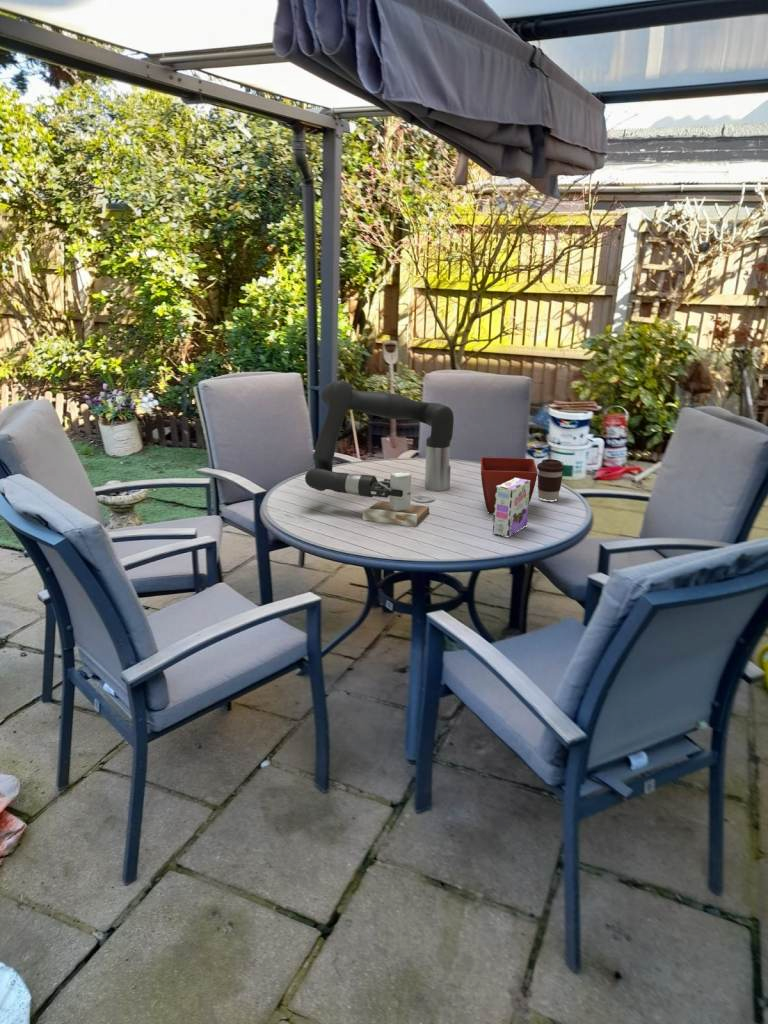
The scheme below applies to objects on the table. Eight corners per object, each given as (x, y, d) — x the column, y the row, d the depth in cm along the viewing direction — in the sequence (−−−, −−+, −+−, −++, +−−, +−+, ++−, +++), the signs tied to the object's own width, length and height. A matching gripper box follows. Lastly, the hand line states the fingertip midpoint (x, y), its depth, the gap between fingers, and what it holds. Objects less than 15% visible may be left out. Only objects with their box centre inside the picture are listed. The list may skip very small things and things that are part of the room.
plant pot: (478, 516, 234) (480, 469, 228) (478, 500, 252) (480, 456, 246) (534, 519, 231) (538, 472, 226) (530, 502, 249) (533, 458, 244)
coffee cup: (564, 503, 248) (568, 464, 244) (537, 503, 248) (541, 464, 244) (557, 496, 258) (561, 458, 253) (532, 495, 258) (535, 457, 253)
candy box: (508, 538, 213) (511, 488, 208) (491, 534, 216) (495, 485, 211) (527, 527, 223) (531, 479, 218) (511, 523, 227) (515, 476, 222)
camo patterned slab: (428, 513, 236) (429, 502, 235) (415, 527, 222) (415, 515, 221) (378, 507, 242) (378, 496, 241) (362, 520, 229) (362, 509, 227)
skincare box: (395, 511, 226) (396, 476, 222) (388, 507, 229) (389, 473, 225) (411, 508, 229) (412, 474, 225) (403, 505, 232) (404, 471, 228)
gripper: (353, 479, 224) (399, 485, 219) (369, 469, 237) (413, 474, 231) (353, 501, 226) (399, 507, 221) (368, 490, 239) (412, 495, 234)
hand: (406, 490), depth 226 cm, fingers closed on skincare box, 7 cm apart
